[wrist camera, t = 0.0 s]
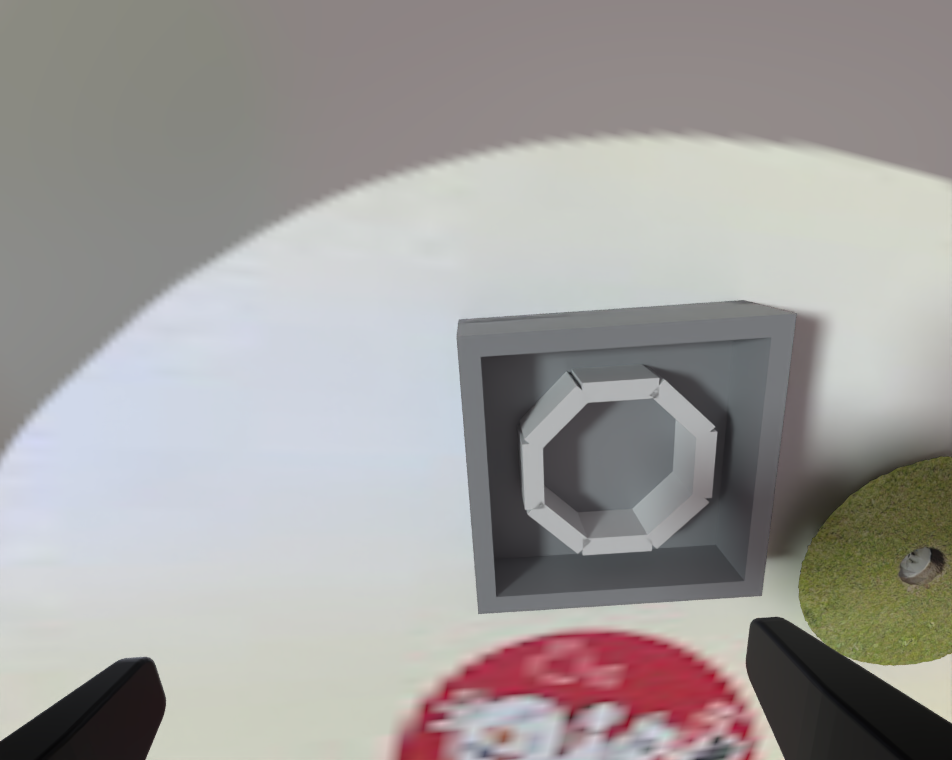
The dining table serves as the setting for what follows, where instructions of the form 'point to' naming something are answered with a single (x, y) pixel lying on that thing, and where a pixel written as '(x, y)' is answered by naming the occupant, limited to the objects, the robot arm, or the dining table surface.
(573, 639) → the dining table surface
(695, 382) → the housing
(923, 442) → the dining table surface
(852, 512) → the olive green flat disc
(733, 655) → the dining table surface
